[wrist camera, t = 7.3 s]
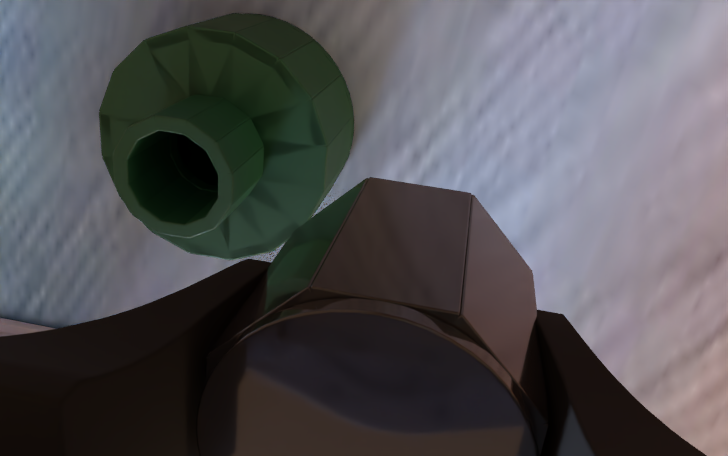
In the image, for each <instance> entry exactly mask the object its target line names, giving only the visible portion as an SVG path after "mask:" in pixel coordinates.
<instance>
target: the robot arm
mask: <svg viewBox="0 0 728 456" xmlns="http://www.w3.org/2000/svg"><path fill="white" fill-rule="evenodd" d="M270 264H271V263H270V262H265V261H259V260H253V259H246V260H243V261H241V262H239V263H236V264H234V265H232V266H230V267H228V268H226V269H224V270H222V271H220V272H218V273H216V274H214V275H212V276H210V277H207V278H205V279H203V280H201V281H199V282H197V283H195V284H193V285H191V286H189V287H186V288H184V289H182V290H179V291H177V292H175V293H172V294H170V295H168V296H165V297H163V298H160V299H158V300H156V301H153V302H151V303H148V304H146V305H143V306H140V307H137V308H134V309H132V310H128V311H125V312H122V313H119V314H116V315H112V316H109V317H105V318H102V319H98V320H93V321H89V322H85V323H80V324H76V325H71V326H67V327H63V328H58V329H55V328H50V327H45V326H40V325H35V324H30V323H24V322H19V321H14V320H9V319H4V318H0V456H199V451H198V447H197V437H196V418H197V408H198V404H199V400H200V396H201V392H202V390H203V387H204V385H205V383H206V356H207V354H208V353H209V351H210V350H211V348H212V347H213V345H214V344H215V343H216V341H217V340H218V338H219V337H220V336H221V334H222V333H223V331H224V330H225V328H226V327H227V326H228V324H229V323H230V321H231V320H232V318H233V317H234V316H235V314H236V313H237V311H238V310H239V308H240V307H241V306H242V304H243V303H244V301H245V300H246V299H247V297H248V296H249V294H250V293H251V291H252V290H253V289H254V287H255V286H256V284H257V283H258V281H259V280H260V279H261V277H262V276H263V274H264V273H265V272H266V270H267V269H268V267H269V266H270ZM536 319H537V328H538V333H539V338H540V346H541V352H542V361H543V370H544V379H545V388H546V397H547V406H548V415H549V424H550V426H549V430H548V434H547V438H546V441H545V445H544V449H543V452H542V456H706V455H705V454H703V453H702V452H701V451H699V450H698V449H696V448H695V447H694V446H692V445H691V444H689V443H688V442H687V441H685V440H684V439H682V438H681V437H680V436H679V435H677V434H676V433H675V432H673V431H672V430H671V429H670V428H668V427H667V426H666V425H665V424H664V423H662V422H661V421H660V420H659V419H658V418H657V417H655V416H654V415H653V414H652V413H651V412H650V411H648V410H647V409H646V408H645V407H644V406H643V405H642V404H641V403H640V402H639V401H637V400H636V399H635V398H634V397H633V396H632V395H631V394H630V393H629V392H628V390H627V389H626V388H625V387H624V386H623V385H622V384H621V383H620V382H619V381H618V380H617V379H616V378H615V377H614V376H613V375H612V374H611V373H610V371H609V370H608V369H607V368H606V367H605V366H604V365H603V363H602V362H601V361H600V360H599V359H598V358H597V356H596V355H595V354H594V353H593V352H592V350H591V349H590V348H589V347H588V345H587V344H586V343H585V342H584V340H583V339H582V338H581V336H580V335H579V334H578V333H577V331H576V330H575V329H574V327H573V326H572V325H571V324H570V322H569V321H568V320H567V319H566V317H565V316H564V315H563V314H558V313H552V312H547V311H541V310H537V317H536Z"/></svg>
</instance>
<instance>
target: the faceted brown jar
mask: <svg viewBox="0 0 728 456" xmlns="http://www.w3.org/2000/svg"><path fill="white" fill-rule="evenodd" d="M536 317H537V306H536V297H535V288H534V279H533V273H532V270H531V269H530V267H529V266H528V265H527V264H526V262H525V261H524V260H523V258H522V257H521V256H520V254H519V253H518V252H517V250H516V249H515V248H514V247H513V245H512V244H511V243H510V241H509V240H508V239H507V237H506V236H505V235H504V233H503V232H502V231H501V230H500V228H499V227H498V226H497V224H496V223H495V222H494V220H493V219H492V218H491V216H490V215H489V214H488V213H487V211H486V210H485V209H484V207H483V206H482V205H481V203H480V202H479V201H478V199H477V198H476V197H475V196H474V195H472V194H471V193H468V192H461V191H455V190H449V189H442V188H436V187H430V186H423V185H417V184H411V183H404V182H398V181H392V180H385V179H379V178H373V177H370V178H366V179H365V180H363V181H362V182H361V183H359V184H358V185H356V186H355V187H354V188H352V189H351V190H349V191H348V192H347V193H345V194H344V195H343V196H341V197H340V198H338V199H337V200H336V201H334V202H333V203H332V204H330V205H329V206H327V207H326V208H325V209H323V210H322V211H320V212H319V213H318V214H316V215H315V216H314V217H312V218H311V219H309V220H308V221H307V222H305V223H304V224H303V225H301V226H300V227H298V228H297V229H296V230H294V232H293V233H292V235H291V236H290V237H289V239H288V240H287V242H286V243H285V244H284V246H283V247H282V249H281V250H280V252H279V253H278V254H277V256H276V257H275V259H274V260H273V262H272V263H271V264H270V266H269V267H268V269H267V270H266V272H265V273H264V274H263V276H262V277H261V279H260V280H259V281H258V283H257V284H256V286H255V287H254V289H253V290H252V291H251V293H250V294H249V296H248V297H247V299H246V300H245V301H244V303H243V304H242V306H241V307H240V308H239V310H238V311H237V313H236V314H235V316H234V317H233V318H232V320H231V321H230V323H229V324H228V326H227V327H226V328H225V330H224V331H223V333H222V334H221V336H220V337H219V338H218V340H217V341H216V343H215V344H214V345H213V347H212V348H211V350H210V351H209V353H208V354H207V356H206V383H205V385H204V387H203V390H202V392H201V396H200V400H199V404H198V408H197V418H196V437H197V447H198V451H199V456H542V452H543V449H544V445H545V441H546V438H547V434H548V430H549V426H550V424H549V415H548V406H547V397H546V388H545V379H544V370H543V361H542V352H541V346H540V338H539V333H538V328H537V319H536Z"/></svg>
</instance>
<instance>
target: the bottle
mask: <svg viewBox="0 0 728 456" xmlns="http://www.w3.org/2000/svg"><path fill="white" fill-rule="evenodd" d="M99 111H100V112H99V120H100V135H101V151H102V157H103V160H104V162H105V164H106V167H107V169H108V171H109V174H110V176H111V178H112V180H113V183H114V185H115V187H116V189H117V192H118V194H119V196H120V197H121V199H122V200H123V201H124V203H125V204H126V206H127V208H128V209H129V211H130V213H132V215H133V216H135V217H136V218H137V219H139V220H140V221H142V222H143V223H144V225H145V226H146V227H147V228H148V229H149V230H150V231H151V232H153V233H154V234H156V235H158V236H160V237H161V238H163V239H165V240H167V241H169V242H170V243H172V244H174V245H176V246H177V247H179V248H181V249H183V250H185V251H186V252H188V253H189V252H190V253H191V254H197V255H203V256H208V257H214V258H220V259H225V260H236V259H241V258H245V257H250V256H255V255H260V254H265V253H269V252H272V251H274V250H275V249H276V248H278V247H279V246H281V245H282V244H283V243H285V242H286V241H287V240H288V239H289V237H290V236H291V235H292V233H293V232H294V230H296V229H297V228H298V227H300V226H301V225H303V224H304V223H305V222H307V221H308V220H309V219H311V217H312V216H313V214H314V213H315V211H316V210H317V209H318V207H319V206H320V204H321V203H322V201H323V200H324V198H325V197H326V195H327V194H328V192H329V191H330V189H331V188H332V186H333V184H334V183H335V181H336V179H337V177H338V175H339V174H340V172H341V171H342V169H343V167H344V165H345V163H346V161H347V159H348V157H349V154H350V149H351V146H352V140H353V133H354V115H353V106H352V102H351V98H350V93H349V91H348V88H347V85H346V82H345V80H344V78H343V76H342V74H341V72H340V70H339V68H338V67H337V65H336V64H335V62H334V61H333V59H332V58H331V56H330V55H329V54H328V53H327V52H326V51H325V50H324V48H323V47H322V46H321V45H320V44H319V43H318V42H316V41H315V40H314V39H313V38H312V37H311V36H310V35H308V34H307V33H305V32H304V31H302V30H301V29H299V28H298V27H296V26H294V25H292V24H290V23H288V22H286V21H283V20H280V19H277V18H274V17H270V16H265V15H260V14H239V13H232V14H229V15H225V16H221V17H217V18H214V19H210V20H206V21H203V22H199V23H195V24H191V25H188V26H184V27H181V28H178V29H175V30H172V31H169V32H166V33H163V34H160V35H156V36H153V37H150V38H147V39H145V40H143V41H142V42H141V43H140V44H139V45H138V46H137V47H136V48H135V49H134V50H133V51H132V52H131V53H130V54H129V55H128V56H127V57H126V58H125V59H124V60H123V61H122V62H121V63H120V64H119V65H118V66H117V67H116V68H115V69H114V71H113V73H112V76H111V79H110V82H109V84H108V87H107V90H106V93H105V96H104V99H103V102H102V104H101V107H100V110H99Z"/></svg>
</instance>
